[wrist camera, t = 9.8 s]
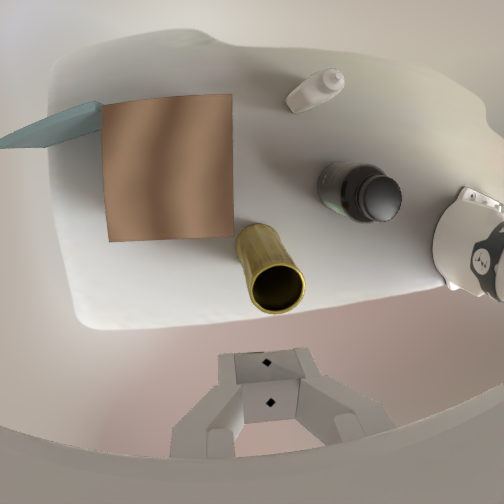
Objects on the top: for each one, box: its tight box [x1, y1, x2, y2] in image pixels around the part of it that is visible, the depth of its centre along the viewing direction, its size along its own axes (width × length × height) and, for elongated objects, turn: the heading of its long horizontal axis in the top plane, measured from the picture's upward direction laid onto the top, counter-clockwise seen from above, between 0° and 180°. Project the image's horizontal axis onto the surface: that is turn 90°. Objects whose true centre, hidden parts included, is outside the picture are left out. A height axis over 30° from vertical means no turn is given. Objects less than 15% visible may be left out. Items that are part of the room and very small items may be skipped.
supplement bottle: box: [318, 162, 402, 224], centre depth 34 cm, size 7×7×12 cm
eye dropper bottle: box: [286, 69, 345, 113], centre depth 30 cm, size 4×6×12 cm
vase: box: [236, 224, 305, 314], centre depth 34 cm, size 6×6×14 cm
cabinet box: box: [102, 94, 234, 242], centre depth 31 cm, size 12×13×12 cm
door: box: [0, 101, 103, 149], centre depth 28 cm, size 2×13×11 cm, turn 97°
